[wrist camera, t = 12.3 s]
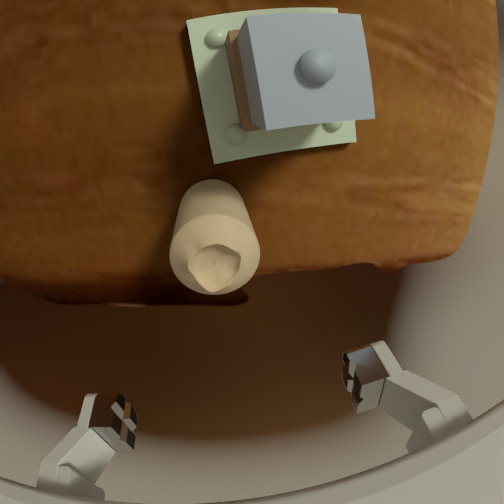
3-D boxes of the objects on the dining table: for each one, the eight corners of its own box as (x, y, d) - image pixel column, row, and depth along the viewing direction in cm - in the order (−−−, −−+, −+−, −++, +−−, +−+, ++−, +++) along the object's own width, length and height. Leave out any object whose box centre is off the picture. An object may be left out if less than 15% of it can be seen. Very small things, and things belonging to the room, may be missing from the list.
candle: (234, 244, 28) (249, 314, 19) (174, 232, 27) (160, 300, 18) (251, 186, 26) (277, 235, 17) (187, 171, 24) (176, 214, 16)
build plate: (213, 162, 24) (214, 165, 23) (187, 23, 18) (186, 19, 17) (351, 140, 25) (357, 142, 24) (332, 10, 19) (338, 7, 18)
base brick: (240, 127, 22) (246, 132, 19) (224, 42, 19) (228, 30, 15) (326, 115, 23) (347, 119, 19) (313, 34, 19) (333, 24, 16)
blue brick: (236, 36, 16) (247, 14, 11) (326, 30, 16) (363, 13, 11) (252, 123, 19) (267, 131, 14) (338, 112, 19) (379, 119, 14)
